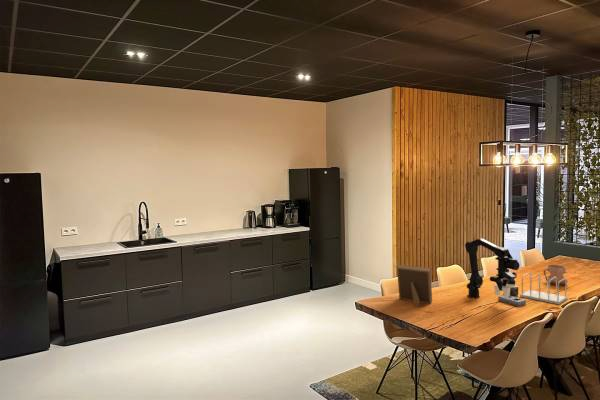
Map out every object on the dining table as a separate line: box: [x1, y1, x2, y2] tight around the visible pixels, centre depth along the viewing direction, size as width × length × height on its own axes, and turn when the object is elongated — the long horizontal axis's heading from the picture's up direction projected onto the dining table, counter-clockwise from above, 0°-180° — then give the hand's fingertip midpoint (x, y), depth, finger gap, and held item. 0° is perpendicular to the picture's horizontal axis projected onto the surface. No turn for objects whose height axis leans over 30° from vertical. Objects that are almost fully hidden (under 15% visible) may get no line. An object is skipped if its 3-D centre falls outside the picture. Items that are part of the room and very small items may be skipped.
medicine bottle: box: [502, 279, 519, 298], centre depth 318 cm, size 7×7×12 cm
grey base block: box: [497, 294, 527, 307], centre depth 302 cm, size 15×8×3 cm, turn 30°
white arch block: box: [493, 283, 510, 298], centre depth 296 cm, size 10×3×6 cm, turn 30°
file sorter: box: [519, 271, 568, 305], centre depth 311 cm, size 25×17×16 cm
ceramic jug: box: [542, 264, 570, 286], centre depth 346 cm, size 18×14×14 cm
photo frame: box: [396, 264, 433, 308], centre depth 303 cm, size 15×22×25 cm
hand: (502, 290), depth 296 cm, fingers closed on white arch block, 3 cm apart
